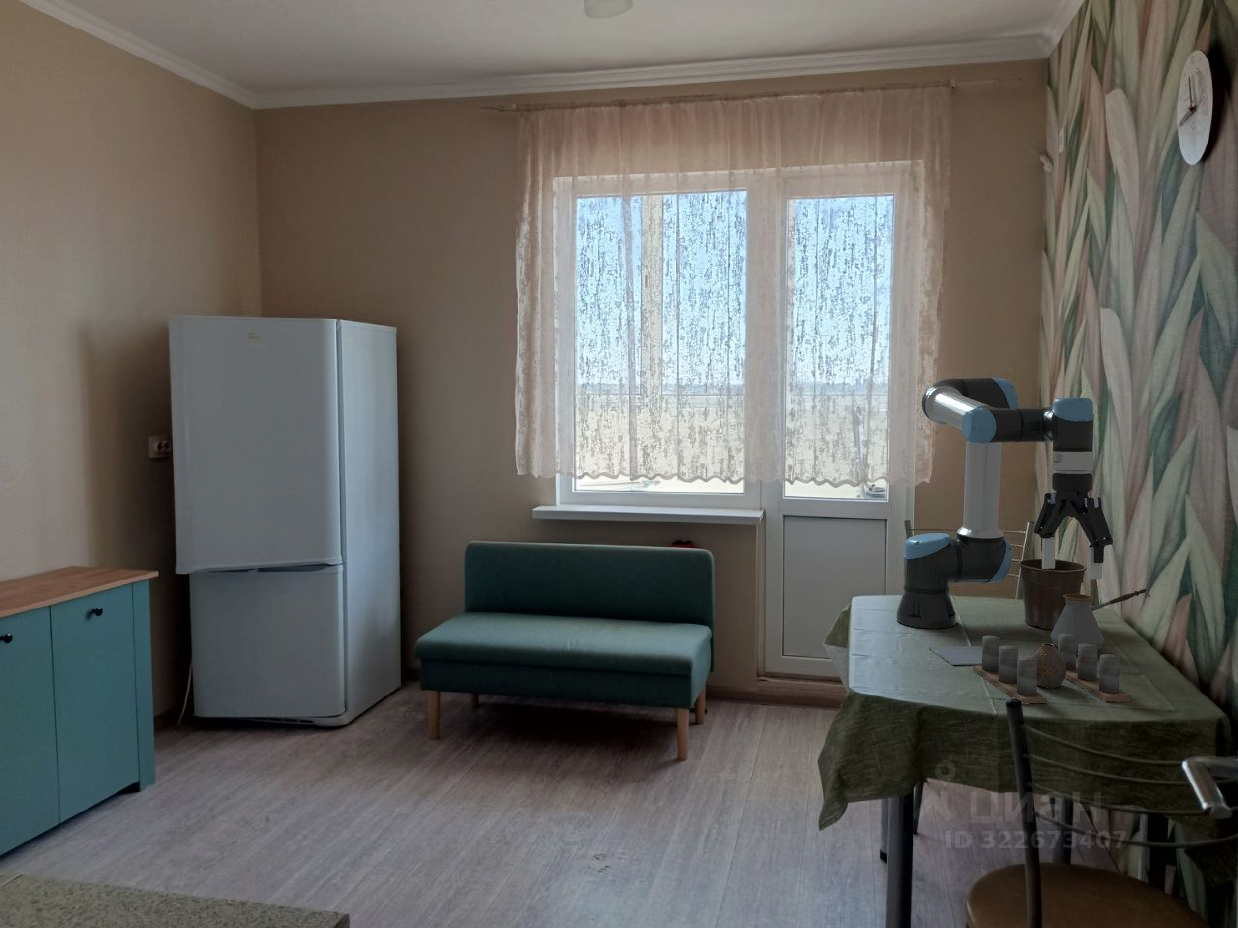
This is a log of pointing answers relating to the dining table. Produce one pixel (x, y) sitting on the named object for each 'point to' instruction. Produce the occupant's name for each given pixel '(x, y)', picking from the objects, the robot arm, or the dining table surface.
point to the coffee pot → (1083, 618)
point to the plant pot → (1048, 589)
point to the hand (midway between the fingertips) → (1070, 573)
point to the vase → (1049, 666)
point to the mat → (961, 654)
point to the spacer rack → (1022, 671)
